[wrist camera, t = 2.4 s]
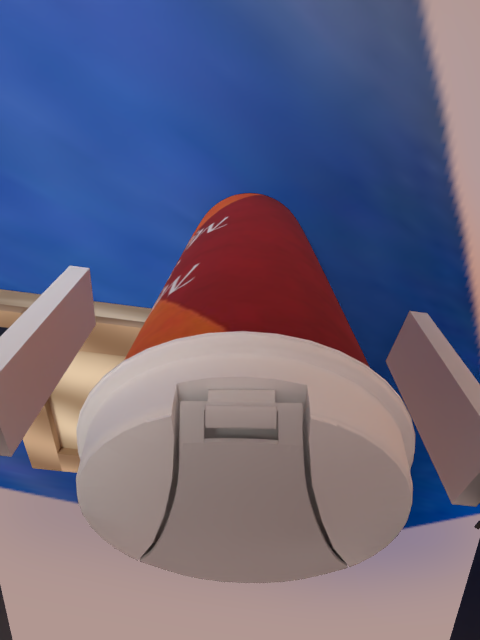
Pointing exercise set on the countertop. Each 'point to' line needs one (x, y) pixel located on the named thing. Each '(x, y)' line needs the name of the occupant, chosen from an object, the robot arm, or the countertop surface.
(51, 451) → the square tray
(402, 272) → the countertop surface
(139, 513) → the coffee cup
